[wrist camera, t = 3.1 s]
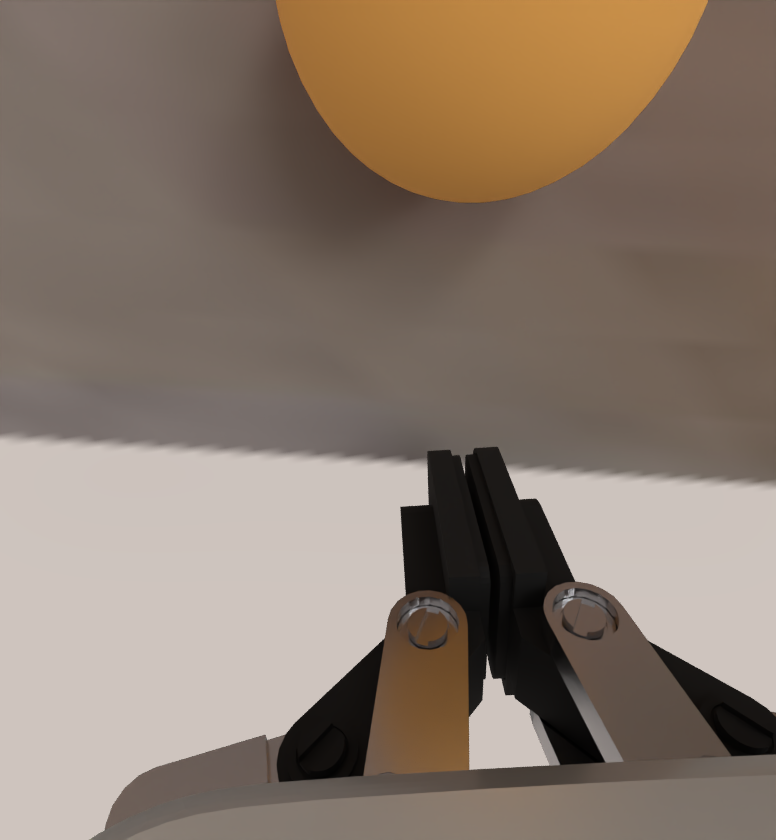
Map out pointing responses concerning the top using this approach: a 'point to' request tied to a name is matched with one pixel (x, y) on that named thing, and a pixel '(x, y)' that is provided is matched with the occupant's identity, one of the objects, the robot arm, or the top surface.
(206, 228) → the top surface
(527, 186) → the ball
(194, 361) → the top surface
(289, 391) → the top surface
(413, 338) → the top surface
